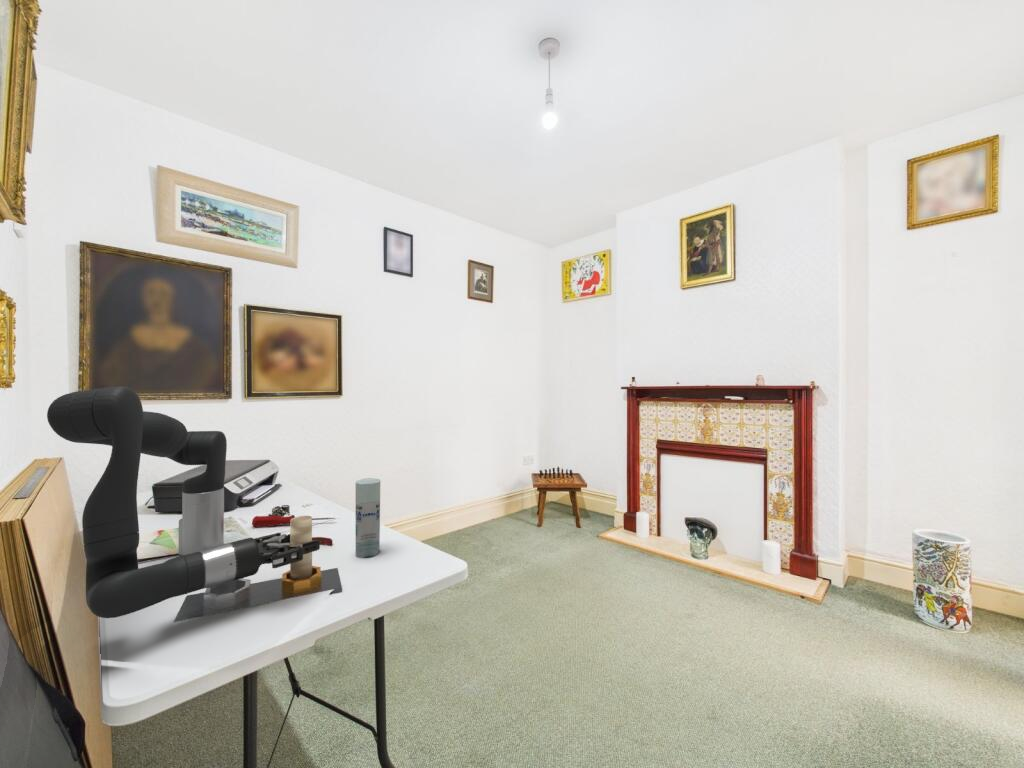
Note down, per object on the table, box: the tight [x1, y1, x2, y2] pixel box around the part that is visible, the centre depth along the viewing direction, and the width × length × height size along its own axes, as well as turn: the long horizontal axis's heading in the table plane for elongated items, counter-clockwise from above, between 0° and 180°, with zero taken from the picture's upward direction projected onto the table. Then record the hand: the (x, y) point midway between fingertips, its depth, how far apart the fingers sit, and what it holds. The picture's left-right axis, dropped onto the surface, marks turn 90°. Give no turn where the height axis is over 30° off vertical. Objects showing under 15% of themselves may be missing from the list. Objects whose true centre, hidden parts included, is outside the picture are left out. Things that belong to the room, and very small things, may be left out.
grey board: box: [173, 565, 343, 623], centre depth 91 cm, size 30×11×4 cm, turn 118°
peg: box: [289, 515, 313, 580], centre depth 94 cm, size 4×4×15 cm
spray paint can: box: [355, 477, 381, 559], centre depth 114 cm, size 6×6×20 cm
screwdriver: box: [251, 514, 336, 528], centre depth 136 cm, size 4×25×4 cm, turn 100°
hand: (311, 539), depth 96 cm, fingers open, 7 cm apart
